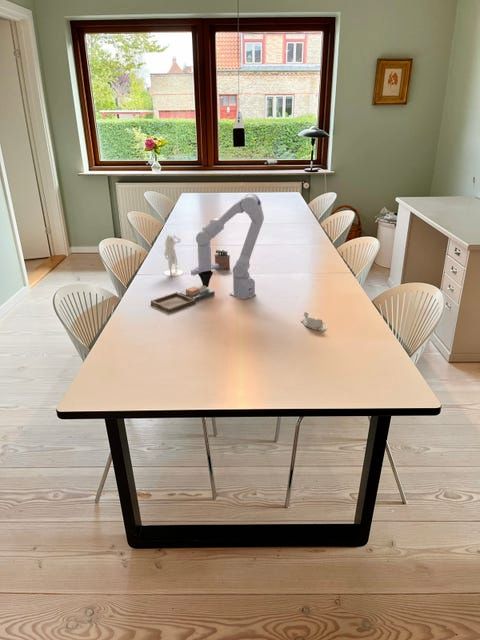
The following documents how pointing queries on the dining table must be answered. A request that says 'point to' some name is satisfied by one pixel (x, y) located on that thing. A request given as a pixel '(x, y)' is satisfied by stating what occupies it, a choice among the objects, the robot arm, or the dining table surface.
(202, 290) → the tile
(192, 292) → the tile
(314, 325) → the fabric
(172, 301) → the box
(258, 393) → the dining table surface
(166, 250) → the female figurine
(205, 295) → the slate plate
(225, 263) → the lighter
